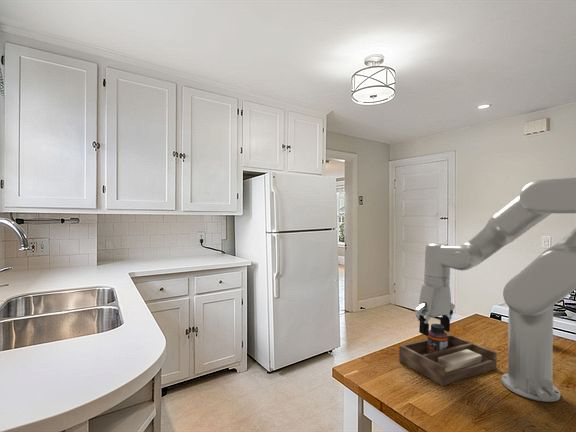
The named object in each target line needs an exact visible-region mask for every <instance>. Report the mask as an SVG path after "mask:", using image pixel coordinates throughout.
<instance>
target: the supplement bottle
mask: <svg viewBox="0 0 576 432" xmlns="http://www.w3.org/2000/svg"><path fill="white" fill-rule="evenodd" d="M447 335H448V334H447V333H446V331H445V330H444V326H443V325H441V324H440V323H432V324H430V329H429V335H428V336H426V337H427V339H428V340H427V354H428V353H432V352H436V351H440V350H444V349H447V342H448V340H447V338H448V337H447Z"/></svg>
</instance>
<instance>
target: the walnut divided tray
mask: <svg viewBox="0 0 576 432" xmlns="http://www.w3.org/2000/svg"><path fill="white" fill-rule="evenodd" d="M447 337H448V338H447V340H448V342H447V349H444V350H440V351H436V352H432V353H428V354H427V340H428V339H426V338H425V339H421V340H417V341H412V342H408V343H403V344H399V354H398V356H399V357H398V358H399V360H398V361H399V362H401V363H403V364H404V365H406V366H407V367H409V368H411V369H413V370H415V371H416V372H418V373H420V374H421V375H423V376H425V377H427V378H429V379H430V380H432V381H434V382H435V383H437V384H438V385H441V386H445V385H449V384H452V383H455V382H459V381H461V380H465V379H468V378H472V377H474V376H478V375H481V374H483V373H487V372H490V371H493V370H497V355H498V353H497V351H495V350H492V349H489V348H487V347H484V346H482V345H479V344H477V343H474V342H472V341H469V340H466V339H464V338H462V337H459V336H456V335H454V334H452V333H449V334H447ZM465 349H468V350H470V351H473V352H475V353H478V354H480V355H482V360H481V363H478V364H475V365H471V366H468V367H464V368H461V369H458V370H454V371H451V372H448V373H445V367H444V366H442V365H440V364H438V363H437V362H438V357H442V356H445V355H448V354H452V353H455V352H458V351H462V350H465Z"/></svg>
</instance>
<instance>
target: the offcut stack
mask: <svg viewBox="0 0 576 432" xmlns="http://www.w3.org/2000/svg"><path fill="white" fill-rule="evenodd" d="M481 360H482V355H480V354H478V353H475V352H473V351H470V350H468V349H465V350H462V351H458V352H455V353H452V354H448V355H445V356H442V357H438V362H437V363H438V364H440V365H442V366H444V367H445V373H448V372H451V371H454V370H458V369H461V368H464V367H468V366H471V365H475V364H478V363H481Z"/></svg>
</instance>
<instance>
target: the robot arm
mask: <svg viewBox="0 0 576 432" xmlns="http://www.w3.org/2000/svg"><path fill="white" fill-rule="evenodd" d="M552 214H576V177H567V178H566V177H565V178H564V177H563V178H549V179H537V180H533V181H531V182H529V183H528V184H525V186H523V188H522V189H521V191H520V193H519V195H518V196H516V197H515V198H514V199H513V200H511V201H510V202H509V203H507V204H506V205H505V206H504V207H502V208H501V209H499V211H496V213H494V214H493V215H492V216H491V217H490V218H489V219H488V221H487V223H486V224H485V226H484V227H483V229H482V230H480V231H479V232H478V233H477V234H476V235H475V236H473V237H472V238H471V239H469V240H468V241H467V242H465V243H464V244H460V245H456V246H455V245H449V244H447V243H446V244H445V243H438V242H430V243H427V244H426V246H425V249H424V250H425V251H424V252H425V253H424V255H425V257H424V279H423V284H422V286H421V288H420V294H419V300H418V301H419V302H418V306H416V308H415V309H414V313H415V315H416V316H415V317H416V318H417V321H418V322H419V325H418V326H419V331H418V332H419V334H422V335H424V336H426V337H427V336H428V335H429V330H430V323H429V321H430V320H431V318H436V317H440V320H439V321H440V322H439V324H441V325H443V326H444V332H447V333H449V332H450V331H451V320H452V316H453V314H454V310H455V308H456V306H455V304H454V303H452V299H451V298H452V297H451V287H450V283H451V281H450V279H451V278H450V277H451V269H453V270H457V271H467V270H470V269H472V268H474V267H477V266H479V265H480V264H481V263H483V262H484V261H486V260H487V259H488V258H490V257H492V256H493V255H494V254H496V253H497V252H499V251H500V250H501V249H503V248H504V247H506V246H507V245H509V244H511V243H513V242H514V241H515V240H517V239H518V238H519V237H521V236H522V235H523V234H525V233H527V232H528V231H529V230H530V229H532V228H534V226H536V225H538V224H539V223H540V222H542V221H544V220H545V219H546V218H547V217H549V216H550V215H552ZM574 291H576V227H574V228H573V229H572V230H571V231H570V232H569V233H567V234H566V235H565V236H564V237H563V238H562V239H561V240H559V241H558V242H557V243H555V244H554V245H552V246H551V247H549V248H547V249H545V250H544V251H543V252H542V253H541V254H539V255H538V256H537V257H536V258H535V259H534V260H532V262H531V263H529V264H527V266H526V267H524V268H523V269H522V270H521V271H519V272H518V274H515V275H514V276H513V277H512V278H511V279H509V280H508V281H507V282H506V284H505V285H504V288H503V290H502V296H503V300H504V303H505V304H506V306H507V307H508V320H507V321H508V325H507V326H508V327H507V335H508V336H507V338H508V339H507V349H508V350H507V373H504V374H502V375H501V377H500V378H501V383H502V384H503V386H504V387H506V388H507V389H508V390H510V391H511V392H513V393H514V394H517V395H519V396H520V397H524V398H526V399H530V400H533V401H538V402H545V403H549V402H550V403H553V402H558V401H560V399H561V391H560V390H559V388H557V387H556V386H555V385H554V381H553V377H554V376H553V374H554V373H553V364H554V363H553V359H554V357H553V356H554V354H553V352H554V349H553V347H554V345H553V343H554V341H553V339H554V338H553V337H554V306H555V305H557V304H558V303H560V301H561V300H563V299H565V298H566V297H567V296H568V295H570V294H571V293H572V292H574ZM425 316H426V317H425Z"/></svg>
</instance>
